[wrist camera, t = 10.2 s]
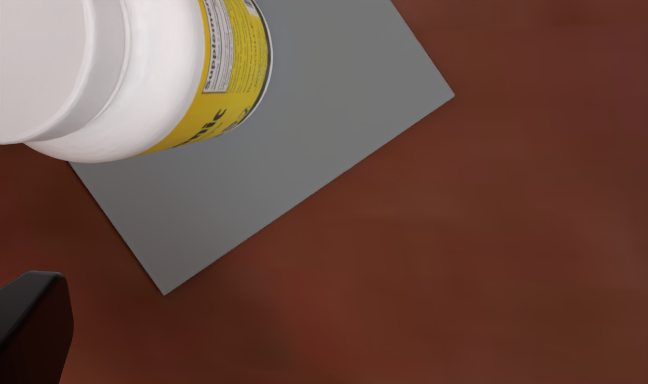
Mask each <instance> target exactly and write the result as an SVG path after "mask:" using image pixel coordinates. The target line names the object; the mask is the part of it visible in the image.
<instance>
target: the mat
mask: <svg viewBox="0 0 648 384" xmlns="http://www.w3.org/2000/svg"><path fill="white" fill-rule="evenodd" d="M254 1H255V2H256V4H257V5H258V7H259V8H260V10H261V12H262V14H263V16H264V18H265V20H266V22H267V25H268V28H269V31H270V35H271V41H272V48H273V65H272V72H271V77H270V81H269V84H268V87H267V90H266V92H265V94H264V97H263V99H262V100H261V102H260V104H259V105H258V107H257V108H256V109H255V111H254V112H253V113H252V114H251V115H250V116H249V117H248V118H247V119H246V120H245V121H244V122H243V123H241V124H240V125H239V126H237V127H236V128H234V129H233V130H231V131H229V132H227V133H225V134H222V135H220V136H217V137H214V138H211V139H207V140H203V141H199V142H195V143H190V144H187V145H183V146H179V147H174V148H170V149H166V150H162V151H158V152H153V153H149V154H144V155H139V156H135V157H131V158H127V159H122V160H117V161H110V162H101V163H77V162H71V161H68V162H69V163H70V165H71V166H72V168H73V169H74V170H75V172H76V173H77V175H78V176H79V177H80V179H81V180H82V182H83V183H84V184H85V186H86V187H87V189H88V190H89V191H90V193H91V194H92V196H93V197H94V198H95V200H96V201H97V203H98V204H99V205H100V207H101V208H102V210H103V211H104V212H105V214H106V215H107V217H108V218H109V220H110V221H111V222H112V224H113V225H114V227H115V228H116V229H117V231H118V232H119V234H120V235H121V236H122V238H123V239H124V241H125V242H126V243H127V245H128V246H129V248H130V249H131V250H132V252H133V253H134V255H135V256H136V257H137V259H138V260H139V262H140V263H141V264H142V266H143V267H144V269H145V270H146V271H147V273H148V274H149V276H150V277H151V278H152V280H153V281H154V283H155V284H156V285H157V287H158V288H159V290H160V291H161V292H162V294H163V295H164V296H165V295H166V294H168V293H169V292H170V291H172V290H173V289H175V288H176V287H178V286H179V285H181V284H182V283H184V282H185V281H186V280H188V279H189V278H191V277H192V276H194V275H195V274H197V273H198V272H200V271H201V270H202V269H204V268H205V267H207V266H208V265H210V264H211V263H213V262H214V261H216V260H217V259H218V258H220V257H221V256H223V255H224V254H226V253H227V252H229V251H230V250H232V249H233V248H234V247H236V246H237V245H239V244H240V243H242V242H243V241H245V240H246V239H248V238H249V237H250V236H252V235H253V234H255V233H256V232H258V231H259V230H261V229H262V228H264V227H265V226H266V225H268V224H269V223H271V222H272V221H274V220H275V219H277V218H278V217H280V216H281V215H282V214H284V213H285V212H287V211H288V210H290V209H291V208H293V207H294V206H295V205H297V204H298V203H300V202H301V201H303V200H304V199H306V198H307V197H309V196H310V195H311V194H313V193H314V192H316V191H317V190H319V189H320V188H322V187H323V186H325V185H326V184H327V183H329V182H330V181H332V180H333V179H335V178H336V177H338V176H339V175H341V174H342V173H343V172H345V171H346V170H348V169H349V168H351V167H352V166H354V165H355V164H357V163H358V162H359V161H361V160H362V159H364V158H365V157H367V156H368V155H370V154H371V153H373V152H374V151H375V150H377V149H378V148H380V147H381V146H383V145H384V144H386V143H387V142H389V141H390V140H391V139H393V138H394V137H396V136H397V135H399V134H400V133H402V132H403V131H405V130H406V129H407V128H409V127H410V126H412V125H413V124H415V123H416V122H418V121H419V120H421V119H422V118H423V117H425V116H426V115H428V114H429V113H431V112H432V111H434V110H435V109H437V108H438V107H439V106H441V105H442V104H444V103H445V102H447V101H448V100H450V99H451V98H453V97H454V96H455V94H454V93H453V92H452V90H451V89H450V87H449V86H448V84H447V83H446V81H445V80H444V78H443V77H442V75H441V74H440V73H439V71H438V70H437V68H436V67H435V65H434V64H433V62H432V61H431V59H430V58H429V56H428V55H427V53H426V52H425V51H424V49H423V48H422V46H421V45H420V43H419V42H418V40H417V39H416V37H415V36H414V34H413V33H412V32H411V30H410V29H409V27H408V26H407V24H406V23H405V21H404V20H403V18H402V17H401V15H400V14H399V12H398V11H397V10H396V8H395V7H394V5H393V4H392V2H391V1H390V0H254Z"/></svg>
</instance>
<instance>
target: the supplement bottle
mask: <svg viewBox="0 0 648 384" xmlns="http://www.w3.org/2000/svg"><path fill="white" fill-rule="evenodd" d="M272 65H273V48H272V41H271V35H270V31H269V28H268V25H267V22H266V20H265V18H264V16H263V14H262V12H261V10H260V8H259V7H258V5H257V4H256V2H255V1H254V0H0V144H1V145H4V144H16V143H24V144H25V145H27V146H29V147H31V148H32V149H34V150H36V151H38V152H40V153H43V154H45V155H48V156H51V157H53V158H57V159H61V160H66V161H71V162H77V163H101V162H110V161H117V160H122V159H127V158H131V157H135V156H139V155H144V154H149V153H153V152H158V151H162V150H166V149H170V148H174V147H179V146H183V145H187V144H190V143H195V142H199V141H203V140H207V139H211V138H214V137H217V136H220V135H222V134H225V133H227V132H229V131H231V130H233V129H234V128H236V127H237V126H239V125H240V124H241V123H243V122H244V121H245V120H246V119H247V118H248V117H249V116H250V115H251V114H252V113H253V112H254V111H255V109H256V108H257V107H258V105H259V104H260V102H261V100H262V99H263V97H264V94H265V92H266V90H267V87H268V84H269V81H270V77H271V72H272Z"/></svg>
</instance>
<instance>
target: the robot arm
mask: <svg viewBox="0 0 648 384" xmlns="http://www.w3.org/2000/svg"><path fill="white" fill-rule="evenodd" d="M73 329H74V321H73V314H72V308H71V302H70V296H69V290H68V284H67V280H66V278H65V276H64V275H63V274H62V273H60V272H52V271H37V270H32V271H27V272H25V273H23V274H21V275H20V276H18V277H17V278H15V279H14V280H12V281H11V282H9V283H8V284H6V285H4V286H3V287H1V288H0V384H59V381H60V378H61V374H62V371H63V368H64V364H65V361H66V358H67V354H68V351H69V348H70V344H71V341H72V337H73Z"/></svg>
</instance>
